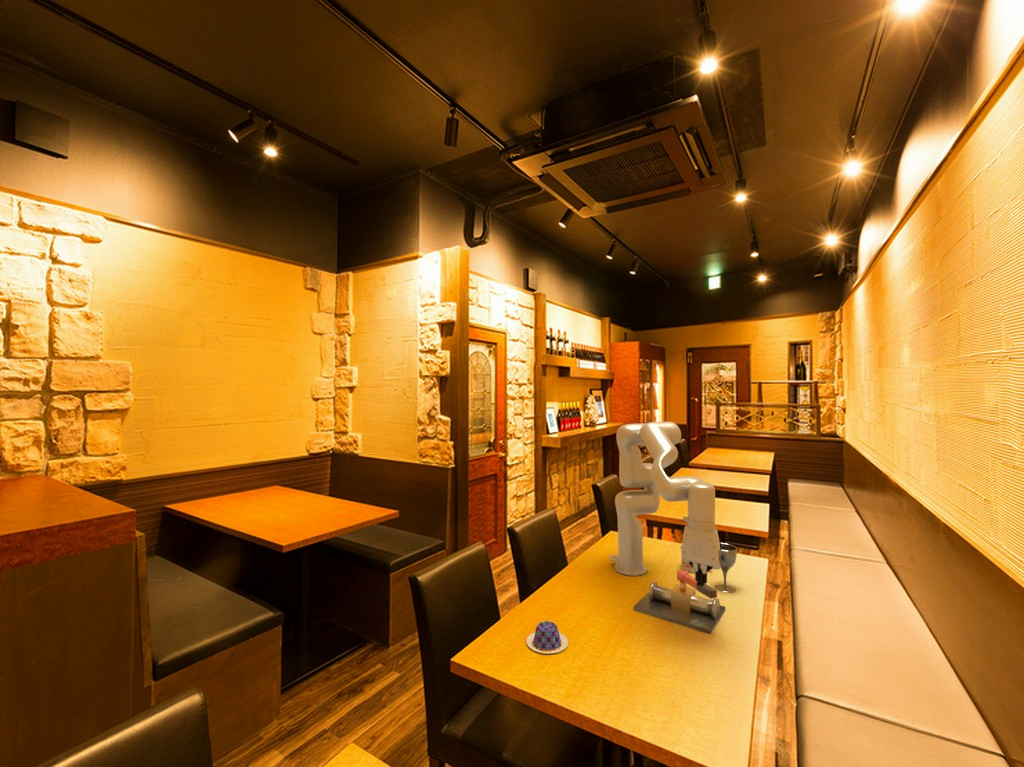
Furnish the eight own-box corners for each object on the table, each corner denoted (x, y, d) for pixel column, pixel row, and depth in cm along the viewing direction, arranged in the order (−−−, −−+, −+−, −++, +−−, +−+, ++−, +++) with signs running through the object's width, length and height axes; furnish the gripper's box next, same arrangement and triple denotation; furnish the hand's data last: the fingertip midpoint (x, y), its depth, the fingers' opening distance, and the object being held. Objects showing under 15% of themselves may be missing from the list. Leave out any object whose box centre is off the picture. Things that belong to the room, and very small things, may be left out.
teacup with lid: (679, 571, 179) (678, 541, 179) (682, 563, 187) (682, 534, 187) (712, 576, 173) (711, 546, 173) (714, 568, 181) (713, 539, 181)
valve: (633, 609, 148) (632, 580, 148) (653, 590, 162) (653, 563, 162) (710, 633, 133) (709, 600, 133) (725, 609, 147) (724, 580, 147)
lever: (674, 578, 149) (674, 570, 149) (683, 576, 150) (683, 569, 150) (708, 599, 134) (708, 591, 134) (718, 597, 135) (718, 589, 135)
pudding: (518, 640, 131) (518, 622, 132) (551, 628, 138) (551, 611, 138) (542, 661, 121) (542, 641, 121) (576, 647, 128) (576, 628, 128)
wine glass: (734, 595, 157) (734, 552, 158) (710, 589, 162) (710, 547, 162) (739, 587, 164) (738, 545, 164) (716, 581, 169) (715, 541, 169)
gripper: (671, 522, 137) (671, 582, 137) (725, 532, 127) (724, 596, 128) (680, 516, 142) (679, 573, 143) (731, 525, 133) (731, 586, 134)
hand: (701, 584), depth 135 cm, fingers closed
